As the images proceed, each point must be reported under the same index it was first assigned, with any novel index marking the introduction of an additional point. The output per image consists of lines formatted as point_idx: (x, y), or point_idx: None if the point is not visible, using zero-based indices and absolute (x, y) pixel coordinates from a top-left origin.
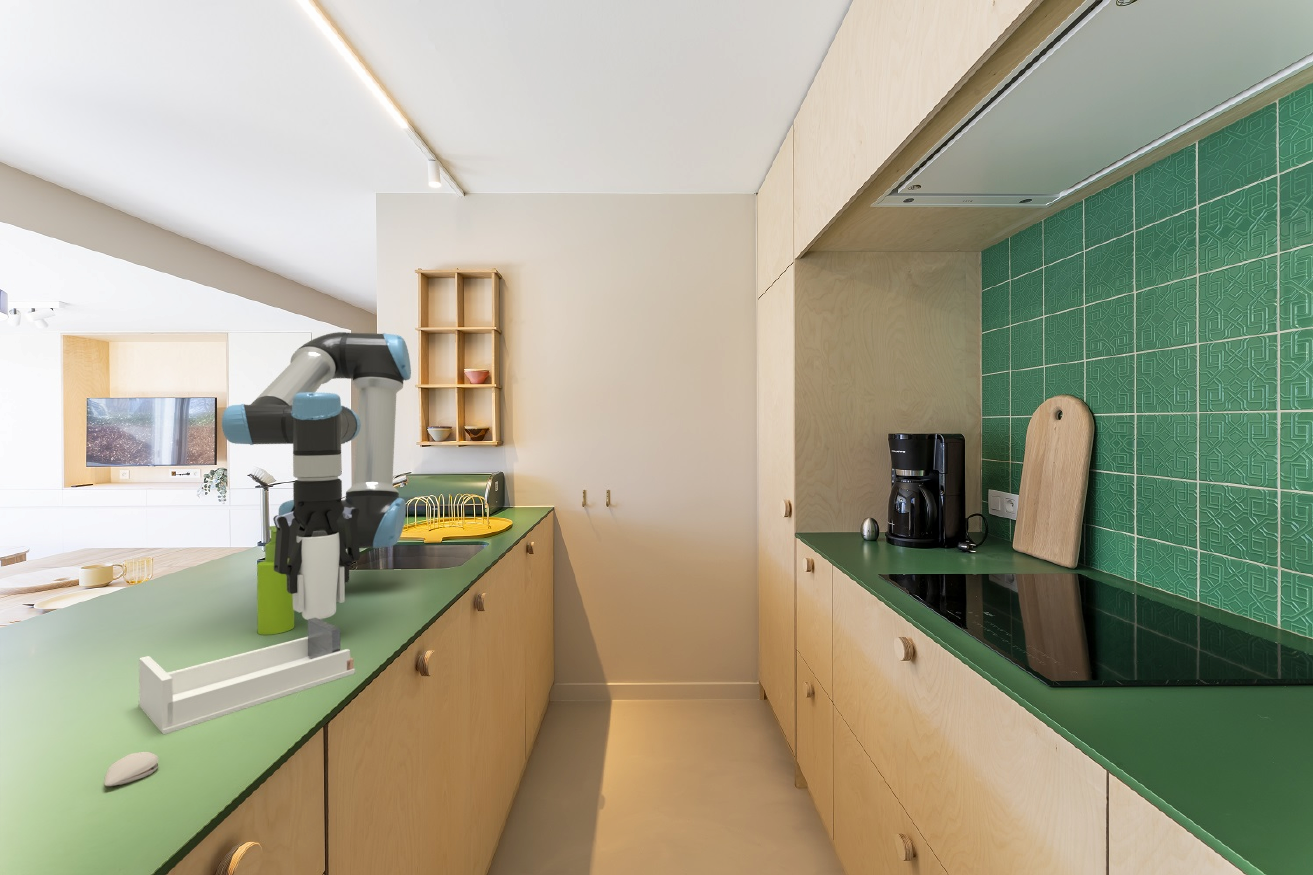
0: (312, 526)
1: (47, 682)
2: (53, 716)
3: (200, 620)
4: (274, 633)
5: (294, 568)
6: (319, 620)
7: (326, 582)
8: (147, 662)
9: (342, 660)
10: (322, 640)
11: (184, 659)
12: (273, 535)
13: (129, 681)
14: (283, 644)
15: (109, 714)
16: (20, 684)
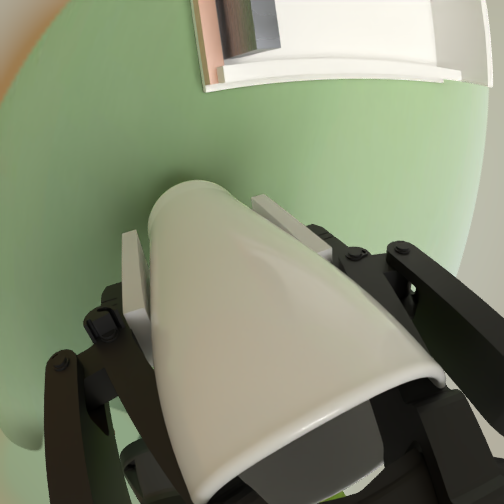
0: (457, 462)
1: (452, 247)
2: (472, 130)
3: None
4: None
5: (366, 263)
6: (257, 7)
7: (209, 216)
8: (490, 55)
9: None
10: None
11: (373, 242)
12: (343, 496)
13: (426, 191)
14: (308, 61)
15: (452, 85)
16: (459, 256)
